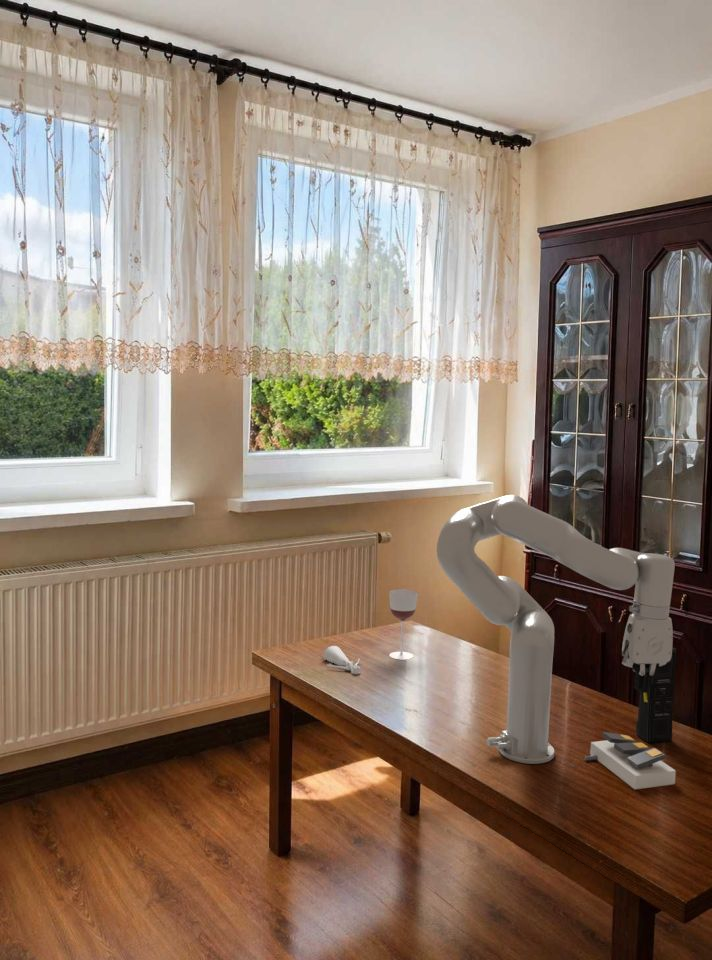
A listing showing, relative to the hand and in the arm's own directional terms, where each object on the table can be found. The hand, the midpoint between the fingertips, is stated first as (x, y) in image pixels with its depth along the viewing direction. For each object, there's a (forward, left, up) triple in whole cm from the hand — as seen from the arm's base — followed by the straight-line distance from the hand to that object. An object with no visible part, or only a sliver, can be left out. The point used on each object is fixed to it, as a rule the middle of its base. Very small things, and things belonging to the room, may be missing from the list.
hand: (641, 690), depth 185 cm
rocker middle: (-2, -1, -14) cm, 14 cm away
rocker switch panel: (-3, -1, -18) cm, 18 cm away
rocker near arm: (-2, +4, -14) cm, 15 cm away
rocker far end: (-1, -6, -14) cm, 15 cm away
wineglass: (-26, +83, -18) cm, 89 cm away
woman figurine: (-46, +79, -18) cm, 93 cm away
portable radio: (+13, +12, -18) cm, 26 cm away
